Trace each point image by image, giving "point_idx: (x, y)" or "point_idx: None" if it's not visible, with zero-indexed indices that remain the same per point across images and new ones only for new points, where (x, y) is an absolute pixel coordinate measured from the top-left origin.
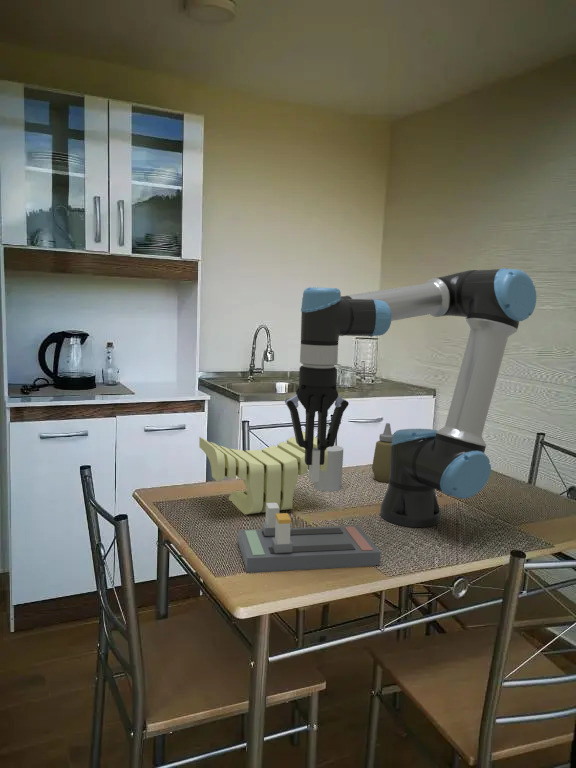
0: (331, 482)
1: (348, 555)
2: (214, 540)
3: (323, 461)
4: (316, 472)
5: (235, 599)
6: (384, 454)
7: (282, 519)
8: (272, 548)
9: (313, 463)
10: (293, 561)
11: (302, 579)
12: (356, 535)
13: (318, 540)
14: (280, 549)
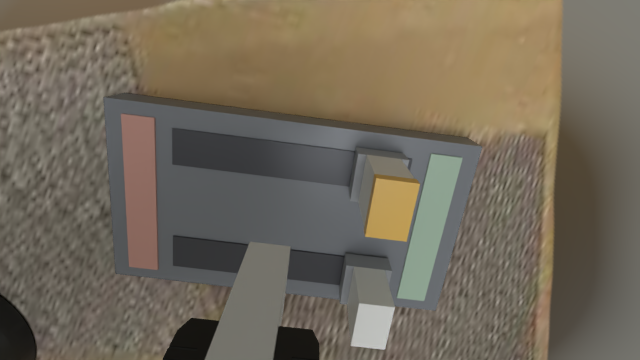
0: None
1: (202, 108)
2: (473, 311)
3: (181, 336)
4: (256, 274)
5: (550, 4)
6: None
7: (405, 185)
8: None
9: (270, 319)
10: (356, 127)
11: (349, 68)
12: (141, 211)
13: (255, 208)
14: (390, 154)
